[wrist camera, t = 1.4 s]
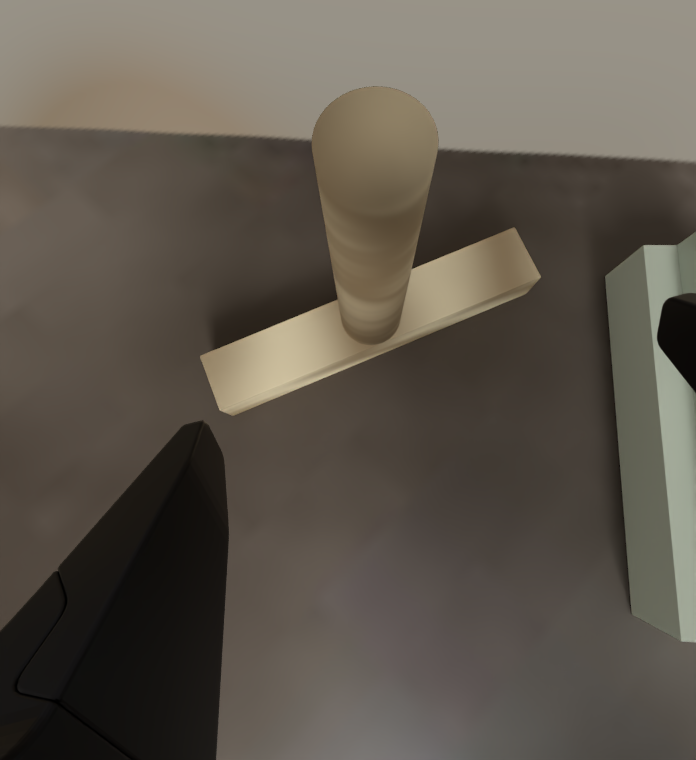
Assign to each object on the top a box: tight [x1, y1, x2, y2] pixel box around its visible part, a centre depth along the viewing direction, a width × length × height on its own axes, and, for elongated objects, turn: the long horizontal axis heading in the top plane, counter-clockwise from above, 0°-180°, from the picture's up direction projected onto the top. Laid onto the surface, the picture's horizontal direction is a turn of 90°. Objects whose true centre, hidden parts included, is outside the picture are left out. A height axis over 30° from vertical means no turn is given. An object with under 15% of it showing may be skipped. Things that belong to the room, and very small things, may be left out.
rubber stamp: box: [200, 86, 541, 416], centre depth 15 cm, size 14×2×12 cm, turn 113°
